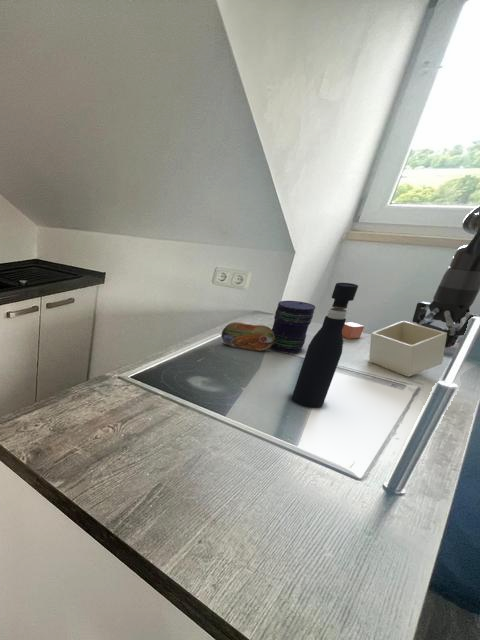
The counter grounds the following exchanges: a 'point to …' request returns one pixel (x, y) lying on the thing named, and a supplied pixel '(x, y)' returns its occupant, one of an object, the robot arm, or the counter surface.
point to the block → (352, 330)
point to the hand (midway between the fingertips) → (432, 342)
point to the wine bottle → (324, 351)
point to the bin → (408, 347)
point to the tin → (248, 336)
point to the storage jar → (291, 325)
